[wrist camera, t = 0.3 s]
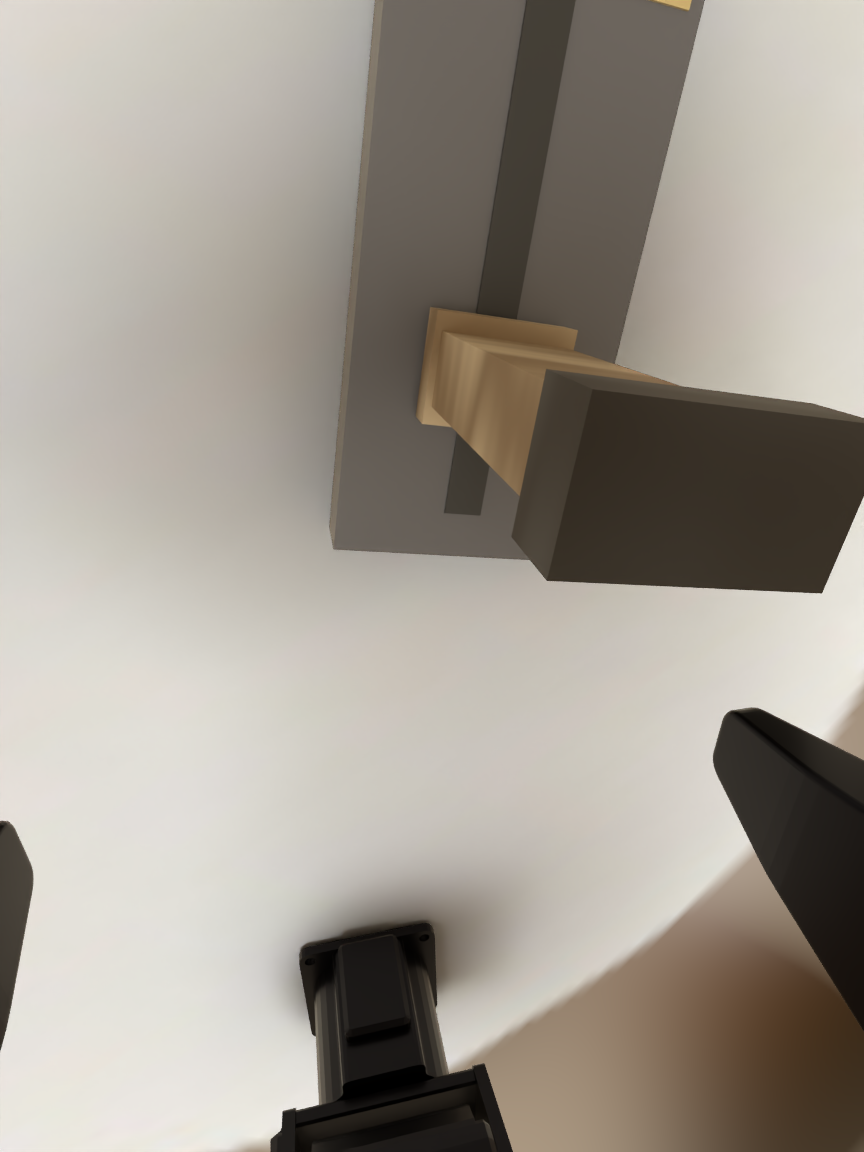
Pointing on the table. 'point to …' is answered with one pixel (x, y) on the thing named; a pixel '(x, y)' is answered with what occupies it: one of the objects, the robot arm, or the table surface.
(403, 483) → the fader console
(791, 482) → the fader lever
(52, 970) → the table surface
